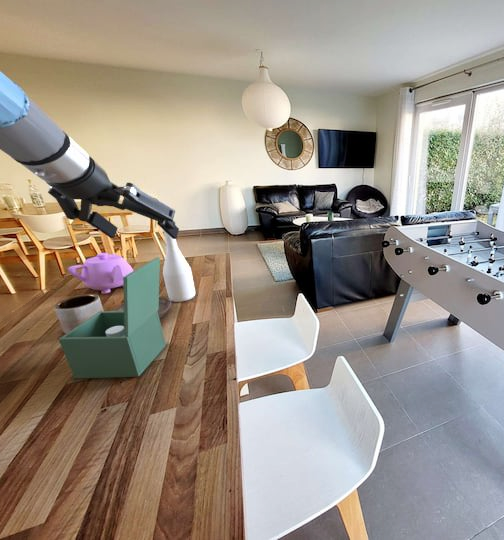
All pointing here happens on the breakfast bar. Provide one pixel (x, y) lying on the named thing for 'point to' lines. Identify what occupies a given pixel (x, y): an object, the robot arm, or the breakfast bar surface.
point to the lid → (141, 295)
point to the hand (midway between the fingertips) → (145, 233)
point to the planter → (77, 310)
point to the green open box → (112, 347)
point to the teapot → (102, 272)
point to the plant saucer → (163, 306)
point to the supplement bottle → (115, 331)
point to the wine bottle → (177, 273)
